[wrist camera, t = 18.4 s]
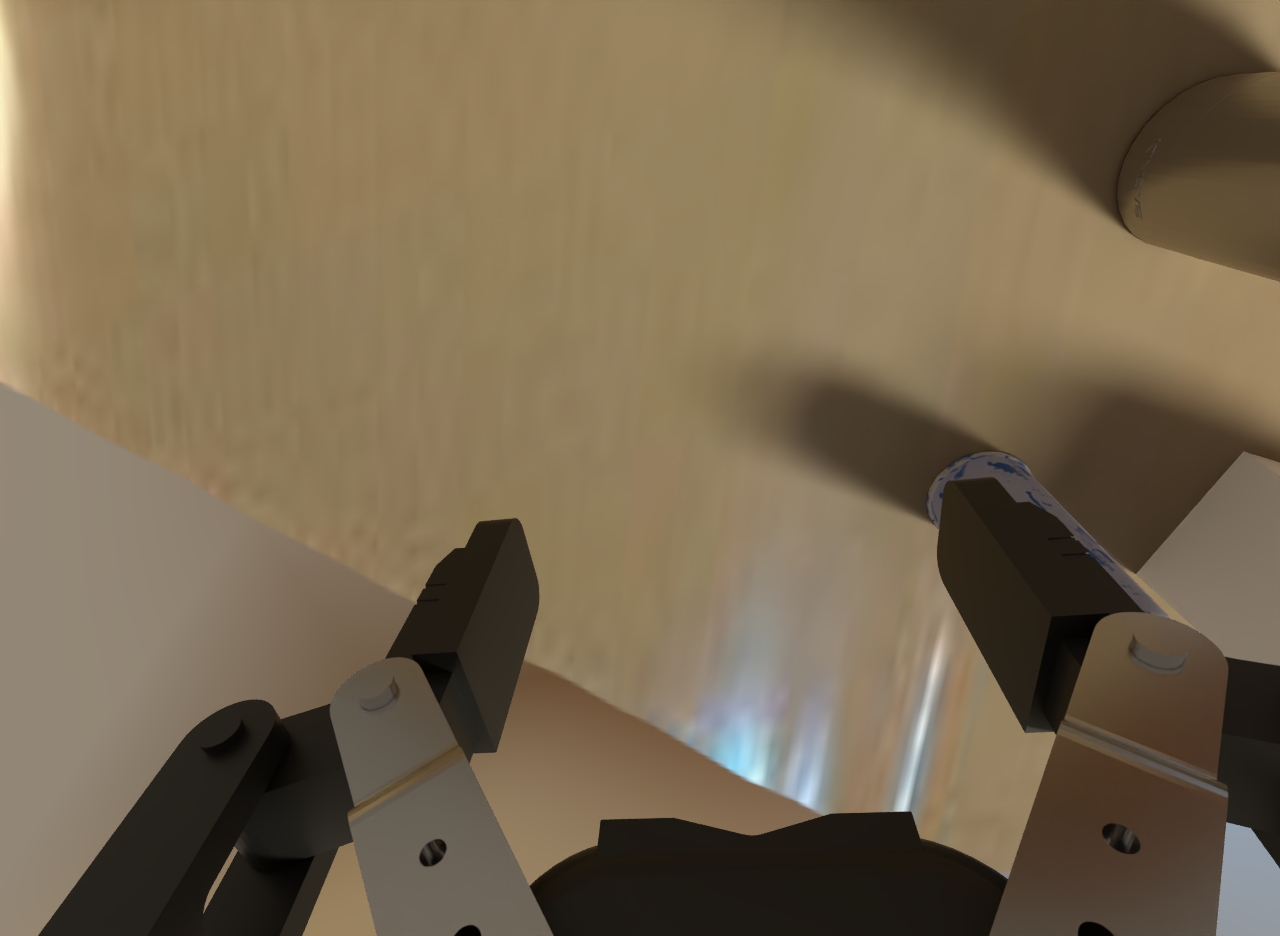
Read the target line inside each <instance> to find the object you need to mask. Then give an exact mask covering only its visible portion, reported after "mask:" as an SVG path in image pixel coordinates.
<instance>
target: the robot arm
mask: <svg viewBox="0 0 1280 936" xmlns="http://www.w3.org/2000/svg"><path fill="white" fill-rule="evenodd" d="M1117 199H1118V207H1119V212H1120V215H1121V217H1122V219H1123V222H1124V224H1125V225H1126V227H1127V228H1128V229H1129V230H1130V231H1131V233H1132V234H1133V235H1134V236H1136V237H1137V238H1139V239H1140V240H1142V241H1143V242H1145V243H1148V244H1151V245H1155V246H1158V247H1161V248H1165V249H1168V250H1171V251H1175V252H1178V253H1182V254H1185V255H1189V256H1192V257H1195V258H1198V259H1202V260H1205V261H1209V262H1212V263H1216V264H1219V265H1223V266H1226V267H1230V268H1233V269H1237V270H1240V271H1244V272H1247V273H1251V274H1254V275H1258V276H1261V277H1265V278H1269V279H1272V280H1276V281H1279V282H1280V71H1277V72H1262V73H1247V74H1235V75H1228V76H1221V77H1217V78H1214V79H1211V80H1208V81H1205V82H1202V83H1200V84H1197V85H1196V86H1194V87H1192V88H1190V89H1188V90H1187V91H1185V92H1183V93H1181V94H1179V95H1178V96H1177V97H1176V98H1174V99H1173V100H1172V101H1170V102H1169V103H1168V104H1166V105H1165V106H1164V107H1163V108H1161V109H1160V110H1159V111H1158V113H1157V114H1156V115H1155V116H1154V117H1153V118H1152V119H1151V120H1150V121H1149V122H1148V123H1147V124H1146V125H1145V127H1144V128H1143V129H1142V131H1141V132H1140V134H1139V135H1138V136H1137V138H1136V139H1135V141H1134V142H1133V144H1132V146H1131V148H1130V150H1129V152H1128V154H1127V156H1126V158H1125V160H1124V163H1123V166H1122V169H1121V172H1120V176H1119V180H1118V190H1117ZM1089 553H1090V552H1089V551H1088V550H1087V549H1086V548H1085V547H1084V546H1083V545H1082V544H1081V543H1080V542H1079V540H1075V536H1074V535H1073V534H1072V533H1071V532H1070V531H1069V530H1068V528H1067V527H1066V526H1065V525H1064V524H1063V523H1062V522H1061V521H1060V520H1059V519H1058V517H1056V516H1054V515H1053V514H1051V513H1049V512H1047V511H1045V510H1044V509H1042V508H1040V507H1038V506H1036V505H1035V504H1033V503H1031V502H1016V501H1015V500H1014V499H1013V498H1012V496H1011V495H1010V494H1009V493H1008V492H1007V491H1006V489H1005V488H1004V487H1003V486H1002V485H1001V483H1000V482H999V481H998V480H997V479H996V478H994V477H984V478H973V479H962V480H951V481H948V482H946V484H945V486H944V490H943V497H942V507H941V516H940V526H939V536H938V545H937V561H938V567H939V572H940V576H941V579H942V581H943V583H944V585H945V587H946V589H947V591H948V593H949V595H950V596H951V598H952V600H953V602H954V604H955V606H956V607H957V609H958V611H959V613H960V615H961V617H962V618H963V620H964V622H965V624H966V626H967V627H968V629H969V631H970V633H971V635H972V637H973V638H974V640H975V642H976V644H977V646H978V648H979V649H980V651H981V653H982V655H983V657H984V659H985V660H986V662H987V664H988V666H989V668H990V670H991V671H992V673H993V675H994V677H995V679H996V681H997V682H998V684H999V686H1000V688H1001V690H1002V691H1003V693H1004V695H1005V697H1006V699H1007V701H1008V702H1009V704H1010V706H1011V708H1012V710H1013V712H1014V713H1015V715H1016V717H1017V719H1018V721H1019V723H1020V724H1021V726H1022V728H1023V730H1024V732H1025V733H1033V732H1055V734H1056V738H1055V741H1054V744H1053V747H1052V750H1051V753H1050V756H1049V759H1048V762H1047V765H1046V768H1045V771H1044V774H1043V777H1042V780H1041V783H1040V786H1039V789H1038V792H1037V795H1036V798H1035V801H1034V804H1033V807H1032V810H1031V812H1030V815H1029V818H1028V821H1027V824H1026V827H1025V830H1024V833H1023V836H1022V839H1021V842H1020V845H1019V848H1018V851H1017V854H1016V857H1015V860H1014V863H1013V866H1012V869H1011V872H1010V875H1009V878H1008V879H1007V878H1005V877H1004V876H1003V875H1001V874H1000V873H998V872H997V871H995V870H994V869H992V868H990V867H989V866H987V865H985V864H983V863H982V862H980V861H978V860H977V859H975V858H973V857H971V856H968V855H966V854H964V853H962V852H960V851H958V850H955V849H953V848H950V847H947V846H944V845H942V844H939V843H936V842H933V841H929V840H925V839H921V838H920V837H919V834H918V831H917V828H916V825H915V821H914V818H913V815H912V812H875V813H837V814H829V815H825V816H822V817H819V818H815V819H812V820H808V821H805V822H802V823H798V824H795V825H791V826H788V827H785V828H781V829H778V830H775V831H771V832H768V833H764V834H761V835H754V836H750V835H743V834H739V833H735V832H731V831H727V830H723V829H718V828H714V827H710V826H706V825H702V824H697V823H693V822H689V821H685V820H680V819H676V818H652V819H651V818H650V819H615V820H613V819H612V820H601V822H600V831H599V839H598V845H597V846H594V847H591V848H588V849H586V850H583V851H581V852H579V853H577V854H574V855H572V856H570V857H568V858H567V859H565V860H563V861H562V862H560V863H558V864H556V865H555V866H553V867H552V868H551V869H549V870H548V871H547V872H545V873H544V874H543V875H542V876H540V877H539V878H538V879H537V880H535V881H534V882H533V883H532V884H531V885H530V886H529V885H528V883H527V881H526V878H525V876H524V874H523V872H522V870H521V868H520V866H519V864H518V862H517V860H516V858H515V856H514V854H513V852H512V850H511V848H510V846H509V844H508V842H507V840H506V838H505V836H504V833H503V832H502V829H501V827H500V825H499V823H498V821H497V819H496V817H495V815H494V813H493V811H492V809H491V807H490V805H489V803H488V801H487V799H486V797H485V795H484V793H483V791H482V789H481V787H480V785H479V782H478V780H477V778H476V776H475V774H474V772H473V770H472V768H471V766H470V764H469V763H470V761H471V757H472V755H473V753H494V752H497V748H498V744H499V741H500V738H501V734H502V731H503V728H504V724H505V721H506V717H507V714H508V711H509V707H510V704H511V700H512V697H513V694H514V690H515V687H516V683H517V680H518V677H519V673H520V670H521V666H522V663H523V660H524V656H525V653H526V649H527V646H528V643H529V639H530V636H531V632H532V629H533V625H534V622H535V619H536V615H537V612H538V607H539V585H538V580H537V576H536V572H535V569H534V565H533V562H532V558H531V555H530V551H529V548H528V544H527V541H526V537H525V534H524V530H523V527H522V525H521V523H520V521H519V520H518V519H517V518H513V519H502V520H491V521H480V522H479V523H478V524H477V525H476V527H475V529H474V531H473V533H472V535H471V537H470V539H469V541H468V543H467V545H466V547H465V548H456V549H454V550H453V551H452V552H451V553H449V554H448V555H447V556H446V557H445V558H444V559H443V560H442V561H441V562H440V563H439V564H437V565H436V567H435V568H434V570H433V572H432V574H431V576H430V578H429V579H428V581H427V583H426V589H423V590H422V592H421V594H420V596H419V598H418V600H417V605H414V607H413V609H412V611H411V612H410V614H409V616H408V618H407V620H406V622H405V624H404V625H403V627H402V629H401V631H400V632H399V634H398V636H397V638H396V640H395V642H394V643H393V645H392V647H391V649H390V651H389V653H388V654H387V656H386V658H385V659H383V660H380V661H377V662H374V663H372V664H370V665H368V666H366V667H364V668H362V669H360V670H359V671H357V672H356V673H355V674H353V675H352V676H351V677H350V678H348V679H347V680H346V681H345V682H344V683H343V684H342V685H341V687H340V688H339V689H338V691H337V692H336V694H335V695H334V697H333V699H332V702H331V704H328V705H325V706H322V707H319V708H315V709H312V710H309V711H306V712H303V713H299V714H296V715H293V716H290V717H287V718H284V719H280V717H279V716H278V714H277V713H276V711H275V709H274V708H273V706H272V705H271V704H269V703H268V702H266V701H263V700H247V701H242V702H238V703H235V704H232V705H230V706H227V707H225V708H223V709H221V710H219V711H217V712H215V713H214V714H212V715H210V716H209V717H207V718H206V719H205V720H203V721H202V722H200V723H199V724H198V725H197V726H196V727H194V728H193V729H192V730H191V731H190V732H189V733H188V734H187V735H186V737H185V738H184V739H183V740H182V741H181V743H180V744H179V745H178V747H177V748H176V749H175V751H174V752H173V753H172V755H171V756H170V758H169V759H168V760H167V762H166V763H165V764H164V766H163V767H162V768H161V770H160V771H159V772H158V774H157V775H156V776H155V778H154V779H153V781H152V782H151V783H150V785H149V786H148V788H147V789H146V790H145V791H144V793H143V794H142V796H141V797H140V798H139V800H138V801H137V802H136V804H135V805H134V806H133V808H132V809H131V810H130V812H129V813H128V814H127V816H126V817H125V819H124V820H123V821H122V823H121V824H120V825H119V827H118V828H117V829H116V831H115V832H114V834H113V835H112V836H111V838H110V839H109V840H108V842H107V843H106V844H105V846H104V847H103V849H102V850H101V851H100V853H99V854H98V855H97V857H96V858H95V859H94V861H93V862H92V864H91V865H90V866H89V867H88V869H87V870H86V871H85V873H84V874H83V876H82V877H81V878H80V880H79V881H78V882H77V884H76V885H75V886H74V888H73V889H72V890H71V892H70V893H69V895H68V896H67V897H66V899H65V900H64V901H63V903H62V904H61V906H60V907H59V908H58V909H57V911H56V912H55V913H54V915H53V916H52V918H51V919H50V920H49V922H48V923H47V924H46V926H45V927H44V929H43V930H42V931H41V933H40V934H39V935H38V936H302V935H303V932H304V930H305V927H306V925H307V923H308V920H309V918H310V915H311V913H312V910H313V908H314V905H315V903H316V901H317V899H318V896H319V894H320V891H321V889H322V886H323V884H324V882H325V879H326V877H327V874H328V872H329V869H330V867H331V865H332V862H333V860H334V858H335V855H336V853H337V850H338V848H339V847H340V846H343V845H345V844H348V843H351V842H354V846H355V850H356V854H357V858H358V862H359V866H360V870H361V874H362V878H363V882H364V886H365V890H366V893H367V898H368V902H369V906H370V909H371V914H372V918H373V921H374V926H375V929H376V933H377V936H1216V928H1217V916H1218V905H1219V894H1220V883H1221V873H1222V862H1223V852H1224V841H1225V840H1224V839H1225V830H1226V822H1228V823H1232V824H1236V825H1240V826H1245V827H1249V828H1251V829H1252V830H1253V832H1254V833H1255V834H1256V836H1257V837H1258V839H1259V840H1260V841H1261V843H1262V844H1263V845H1264V847H1265V848H1266V850H1267V851H1268V852H1269V854H1270V855H1271V857H1272V858H1273V859H1274V861H1275V862H1276V864H1277V865H1278V866H1279V868H1280V666H1278V665H1272V664H1265V663H1259V662H1253V661H1246V660H1240V659H1235V658H1230V657H1225V656H1224V655H1223V653H1222V652H1221V650H1220V649H1219V648H1218V647H1217V646H1216V645H1215V644H1214V643H1213V642H1212V641H1211V640H1209V639H1208V638H1207V637H1206V636H1204V635H1203V634H1201V633H1200V632H1198V631H1196V630H1194V629H1193V628H1191V627H1189V626H1187V625H1185V624H1182V623H1180V622H1178V621H1175V620H1172V619H1169V618H1166V617H1163V616H1159V615H1155V614H1149V613H1144V611H1143V610H1142V609H1141V608H1140V607H1139V606H1138V605H1137V604H1136V603H1135V602H1134V600H1133V599H1132V598H1131V597H1130V596H1129V595H1128V594H1127V593H1126V592H1125V591H1124V590H1123V588H1122V587H1121V586H1120V585H1119V584H1118V583H1117V582H1116V581H1115V580H1114V579H1113V578H1112V576H1111V575H1110V574H1109V573H1108V572H1107V571H1106V570H1105V569H1104V568H1103V567H1102V566H1101V564H1100V563H1099V562H1098V561H1097V560H1096V559H1095V558H1094V557H1090V554H1089ZM234 846H235V848H236V849H237V850H238V852H237V854H236V855H235V857H234V859H233V861H232V863H231V865H230V867H229V868H228V870H227V872H226V874H225V875H224V877H223V879H222V881H221V883H220V884H219V887H218V888H217V890H216V892H215V894H214V895H213V898H212V899H211V901H210V903H209V905H208V906H207V908H206V910H205V912H204V914H203V911H204V905H205V902H206V898H207V895H208V893H209V891H210V889H211V887H212V885H213V883H214V881H215V880H216V878H217V876H218V874H219V872H220V871H221V869H222V867H223V865H224V864H225V862H226V859H227V858H228V856H229V855H230V853H231V851H232V849H233V847H234Z"/></svg>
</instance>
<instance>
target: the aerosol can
mask: <svg viewBox="0 0 1280 936" xmlns="http://www.w3.org/2000/svg"><path fill="white" fill-rule="evenodd" d="M984 477H994V478H996V479H997V480H998V481H999V482H1000V483H1001V485H1002V486H1003V487H1004V488H1005V489H1006V491H1007V492H1008V493H1009V494H1010V495H1011V496H1012V498H1013V499H1014V500H1015V501H1016V502H1031V503H1033V504H1035V505H1036V506H1038V507H1040V508H1042V509H1044V510H1045V511H1047V512H1049V513H1051V514H1053V515H1054V516H1056V517H1058V519H1059V520H1060V521H1061V522H1062V523H1063V524H1064V525H1065V526H1066V527H1067V528H1068V530H1069V531H1070V532H1071V533H1072V534H1073V535H1074V536H1075V540H1079V542H1080V543H1081V544H1082V545H1083V546H1084V547H1085V548H1086V549H1087V550H1088V551H1089V552H1090V553H1089V554H1090V557H1094V558H1095V559H1096V560H1097V561H1098V562H1099V563H1100V564H1101V566H1102V567H1103V568H1104V569H1105V570H1106V571H1107V572H1108V573H1109V574H1110V575H1111V576H1112V578H1113V579H1114V580H1115V581H1116V582H1117V583H1118V584H1119V585H1120V586H1121V587H1122V588H1123V590H1124V591H1125V592H1126V593H1127V594H1128V595H1129V596H1130V597H1131V598H1132V599H1133V600H1134V602H1135V603H1136V604H1137V605H1138V606H1139V607H1140V608H1141V609H1142V610H1143V611H1144V613H1149V614H1155V615H1159V616H1163V617H1166V618H1169V616H1168V615H1167V614H1166V613H1165V612H1164V611H1163V610H1162V609H1161V608H1160V607H1159V606H1158V605H1157V604H1156V602H1155V601H1154V600H1153V599H1152V598H1151V597H1150V596H1149V595H1148V594H1147V593H1146V592H1145V591H1144V590H1143V589H1142V588H1141V587H1140V586H1139V585H1138V584H1137V583H1136V582H1135V581H1134V580H1133V579H1132V578H1131V577H1130V576H1129V575H1128V574H1127V573H1126V572H1125V570H1124V569H1123V568H1122V567H1121V566H1120V565H1119V564H1118V563H1117V562H1116V561H1115V560H1114V559H1113V558H1112V557H1111V556H1110V555H1109V554H1108V553H1107V552H1106V551H1105V550H1104V549H1103V548H1102V547H1101V546H1100V545H1099V544H1098V543H1097V542H1096V541H1095V540H1094V538H1093V537H1092V536H1091V535H1090V534H1089V533H1088V532H1087V531H1086V530H1085V529H1084V528H1083V527H1082V526H1081V525H1080V524H1079V523H1078V522H1077V521H1076V520H1075V519H1074V518H1073V517H1072V516H1071V515H1070V514H1069V513H1068V512H1067V511H1066V510H1065V509H1064V508H1063V507H1062V505H1061V504H1060V503H1059V502H1058V501H1057V500H1056V499H1055V498H1054V497H1053V496H1052V495H1051V494H1050V493H1049V492H1048V491H1047V490H1046V489H1045V488H1044V487H1043V486H1042V485H1041V484H1040V483H1039V482H1038V481H1037V480H1036V479H1035V478H1034V477H1033V475H1032V473H1031V471H1030V469H1029V468H1028V466H1027V465H1026V464H1024V463H1023V462H1022V461H1020V460H1019V459H1018V458H1016V457H1015V456H1012V455H1009V454H1006V453H1002V452H979V453H976V454H972V455H968V456H965V457H963V458H961V459H959V460H957V461H955V462H954V463H952V464H950V465H949V466H948V467H947V468H945V469H944V470H943V471H942V472H941V473H940V474H939V475H938V476H937V477H936V479H935V480H934V482H933V484H932V485H931V487H930V489H929V492H928V497H927V501H926V504H927V510H928V515H929V517H930V518H931V520H932V521H933V523H934V524H935V526H936V527H937V528H938V529H939V526H940V516H941V507H942V497H943V490H944V486H945V484H946V482H948V481H951V480H962V479H973V478H984ZM1169 619H1170V618H1169Z"/></svg>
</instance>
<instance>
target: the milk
mask: <svg viewBox="0 0 1280 936" xmlns="http://www.w3.org/2000/svg"><path fill="white" fill-rule="evenodd" d="M1136 575H1137V576H1138V577H1139V578H1140V579H1141V580H1143V581H1144V582H1145V583H1146V584H1147V585H1148V586H1149V587H1150V588H1151V589H1153V590H1154V591H1155V592H1156V593H1157V594H1158V595H1159V596H1160V597H1161V598H1162V599H1164V600H1165V601H1166V602H1167V603H1168V604H1169V605H1170V606H1171V607H1172V608H1173V609H1175V610H1176V611H1177V612H1178V613H1179V614H1180V615H1181V616H1182V617H1183V618H1184V619H1186V620H1187V621H1188V622H1189V623H1190V624H1191V625H1192V626H1193V627H1194V628H1196V629H1197V630H1198V631H1199V632H1200V633H1201V634H1203V635H1204V636H1206V637H1207V638H1208V639H1209V640H1211V641H1212V642H1213V643H1214V644H1215V645H1216V646H1217V647H1218V648H1219V649H1220V650H1221V652H1222V653H1223V654H1224V655H1225V656H1226V657H1230V658H1235V659H1240V660H1246V661H1253V662H1259V663H1265V664H1272V665H1278V666H1280V462H1277V461H1273V460H1270V459H1267V458H1264V457H1260V456H1257V455H1254V454H1250V453H1247V452H1244V451H1243V453H1242V454H1241V455H1240V456H1239V457H1238V458H1237V459H1236V460H1235V462H1234V463H1233V464H1232V465H1231V466H1230V467H1229V468H1228V470H1227V471H1226V472H1225V473H1224V474H1223V475H1222V476H1221V478H1220V479H1219V480H1218V481H1217V482H1216V483H1215V484H1214V486H1213V487H1212V488H1211V489H1210V490H1209V491H1208V492H1207V494H1206V495H1205V496H1204V497H1203V498H1202V499H1201V500H1200V501H1199V503H1198V504H1197V505H1196V506H1195V507H1194V508H1193V509H1192V511H1191V512H1190V513H1189V514H1188V515H1187V516H1186V517H1185V519H1184V520H1183V521H1182V522H1181V523H1180V524H1179V525H1178V527H1177V528H1176V529H1175V530H1174V531H1173V532H1172V533H1171V535H1170V536H1169V537H1168V538H1167V539H1166V540H1165V541H1164V543H1163V544H1162V545H1161V546H1160V547H1159V548H1158V549H1157V550H1156V552H1155V553H1154V554H1153V555H1152V556H1151V557H1150V558H1149V560H1148V561H1147V562H1146V563H1145V564H1144V565H1143V566H1142V568H1141V569H1140V570H1139V571H1138V572H1137V573H1136Z"/></svg>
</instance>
